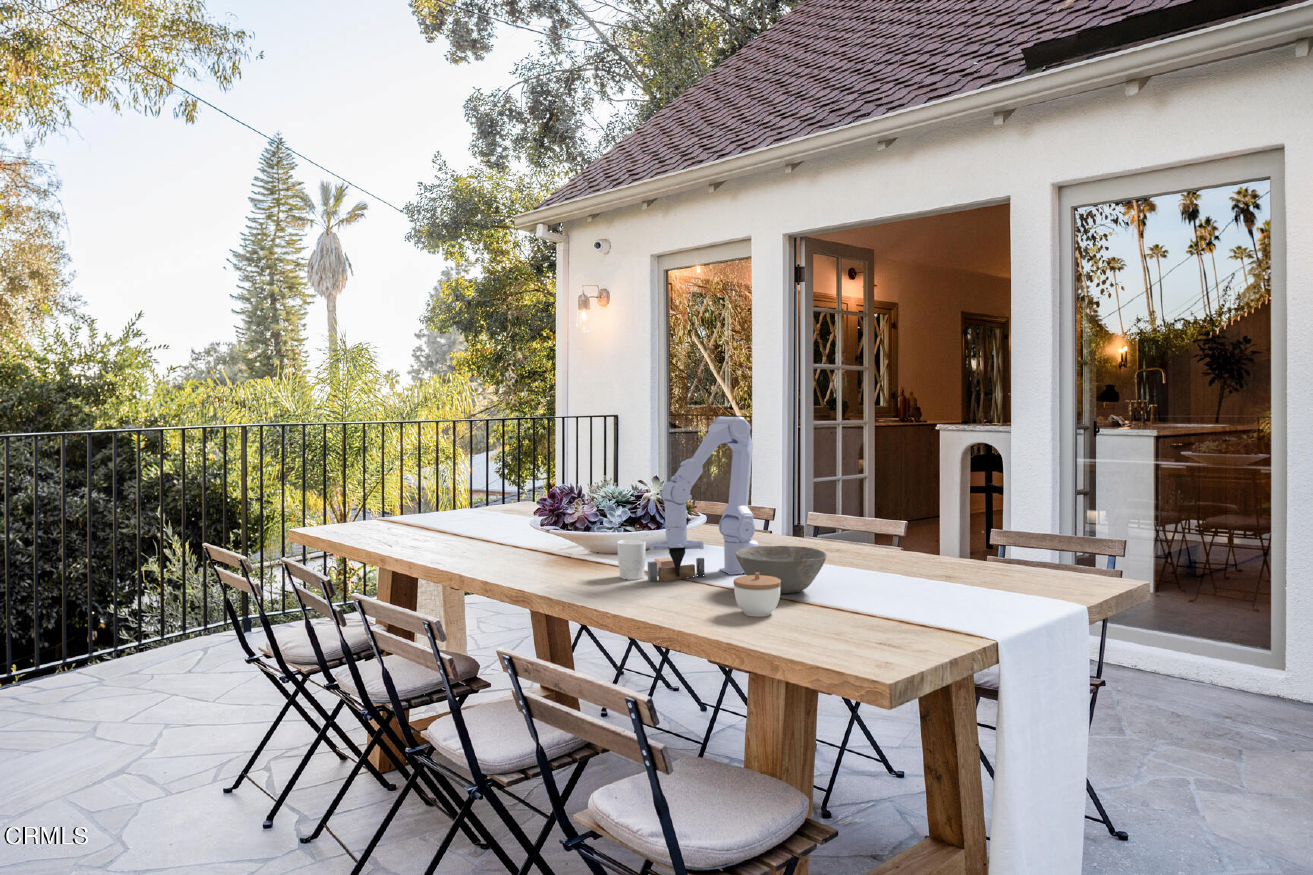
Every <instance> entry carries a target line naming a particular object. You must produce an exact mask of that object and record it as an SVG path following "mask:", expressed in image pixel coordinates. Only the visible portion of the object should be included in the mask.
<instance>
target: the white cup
mask: <svg viewBox="0 0 1313 875" xmlns="http://www.w3.org/2000/svg"><path fill="white" fill-rule="evenodd" d="M616 544H617V545H616V546H617V560H618V568H619V569H618V570H619V578H620V579H621V578H622V579H621V580H625V579H627V581H638V580H641V579H644V578H645V568H646V544H647V542H646V540H644V539H621V540H618V541H617V542H616Z"/></svg>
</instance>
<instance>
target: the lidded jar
mask: <svg viewBox="0 0 1313 875" xmlns="http://www.w3.org/2000/svg"><path fill="white" fill-rule="evenodd" d="M780 585H781V580H780V579H779V578H776V577H772V576H764V575H759V573H758V572H756V573H755V575H749V576H747V575H741V576H738V577H737V576H736V577H735V578H734V579H733V588H734V591H733V592H734V597H735V602H736V605H737V607H738V608H739V609H740V610H741V611H742V612H743V614H744V616H749V617H753V618H755V617H756V618H759V617H761V618H762V617H768V616H771V615H772V612H774V610H776V608H777V606H778V604H779V602H780V597H781V594H780Z"/></svg>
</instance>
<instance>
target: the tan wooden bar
mask: <svg viewBox="0 0 1313 875" xmlns="http://www.w3.org/2000/svg"><path fill="white" fill-rule="evenodd" d="M658 569H659V575H658V582H666V581H667V582H669V581H676V580H683V578H687V577H693V576H695V577H696V564H683V565H682V564H681V565H680V570H679V572H680V577H676V568H675V566H671V567H659V568H658ZM687 579H688V578H687Z"/></svg>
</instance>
